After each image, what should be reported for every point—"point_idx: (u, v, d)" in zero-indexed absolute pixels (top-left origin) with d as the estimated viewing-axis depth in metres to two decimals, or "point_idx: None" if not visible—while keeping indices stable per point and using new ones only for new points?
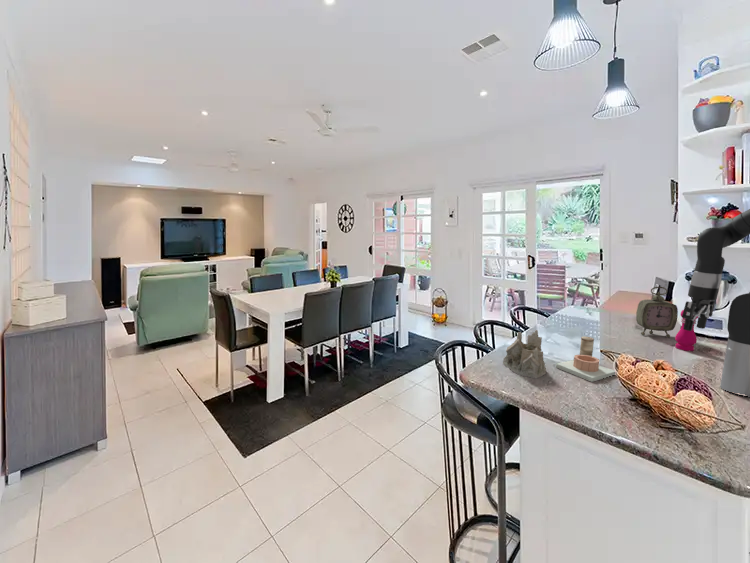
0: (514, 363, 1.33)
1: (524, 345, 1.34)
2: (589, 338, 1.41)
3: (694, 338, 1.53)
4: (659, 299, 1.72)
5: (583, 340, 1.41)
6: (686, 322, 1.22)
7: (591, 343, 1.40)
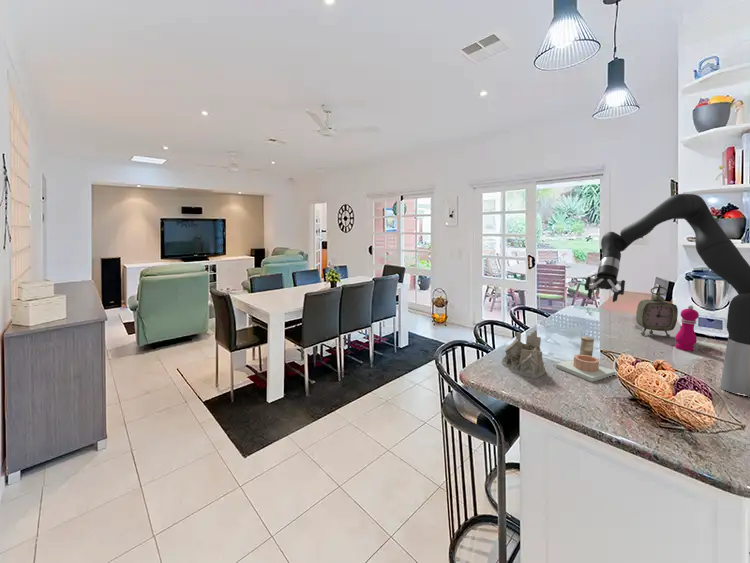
0: (513, 363, 1.33)
1: (523, 345, 1.34)
2: (589, 338, 1.41)
3: (694, 338, 1.53)
4: (659, 299, 1.72)
5: (583, 340, 1.41)
6: (588, 292, 1.52)
7: (591, 343, 1.40)
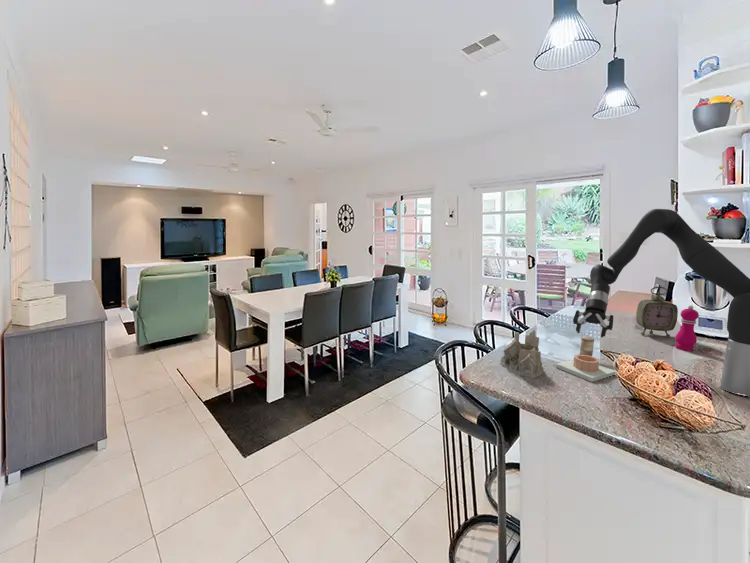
0: (511, 363, 1.33)
1: (521, 345, 1.34)
2: (589, 338, 1.41)
3: (694, 338, 1.53)
4: (659, 299, 1.72)
5: (583, 340, 1.41)
6: None
7: (591, 343, 1.39)
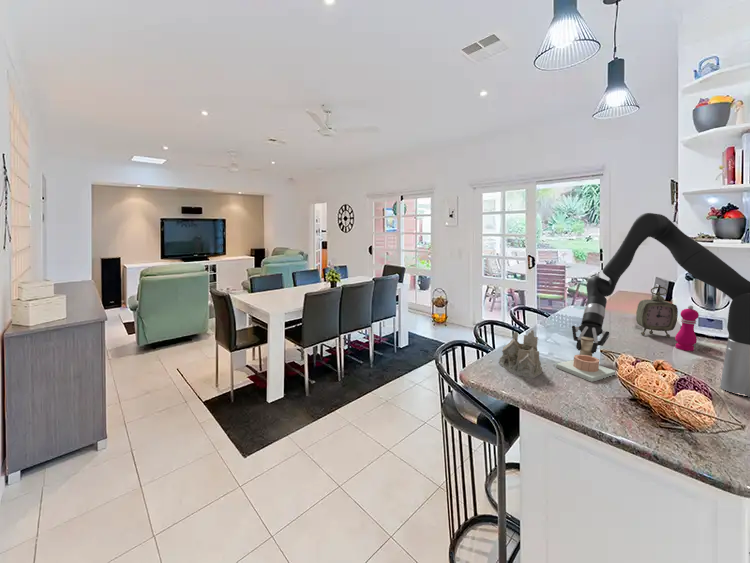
0: (510, 363, 1.33)
1: (520, 345, 1.34)
2: (589, 338, 1.41)
3: (694, 338, 1.53)
4: (659, 299, 1.72)
5: (583, 340, 1.41)
6: (577, 343, 1.44)
7: (591, 343, 1.39)
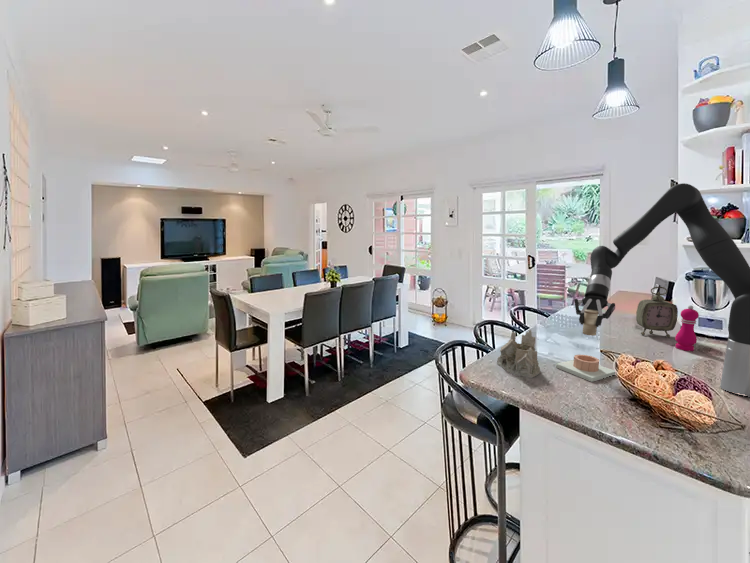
0: (508, 363, 1.33)
1: (518, 345, 1.34)
2: (593, 310, 1.29)
3: (694, 338, 1.53)
4: (659, 299, 1.72)
5: (586, 313, 1.29)
6: (580, 317, 1.33)
7: (595, 316, 1.28)
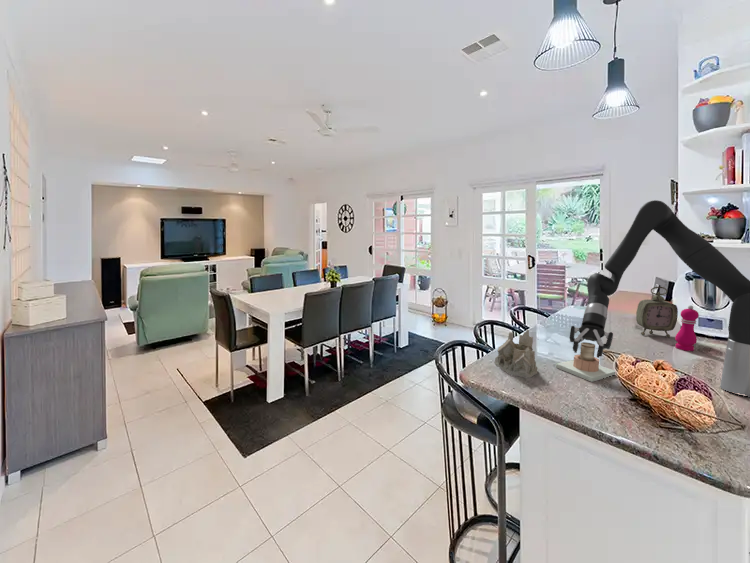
0: (506, 363, 1.33)
1: (515, 345, 1.34)
2: (590, 344, 1.29)
3: (694, 338, 1.53)
4: (659, 299, 1.72)
5: (583, 346, 1.28)
6: None
7: (592, 350, 1.27)
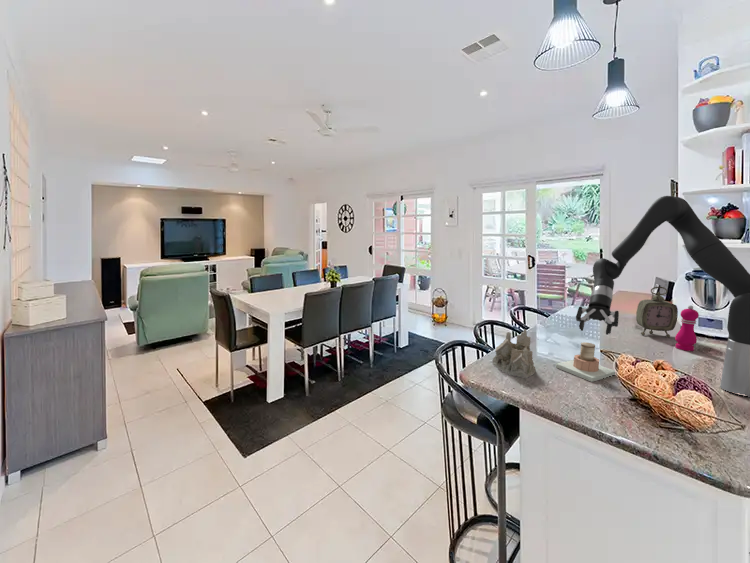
0: (504, 363, 1.33)
1: (513, 345, 1.34)
2: (590, 344, 1.29)
3: (694, 338, 1.53)
4: (659, 299, 1.72)
5: (583, 346, 1.28)
6: (580, 323, 1.41)
7: (592, 350, 1.27)
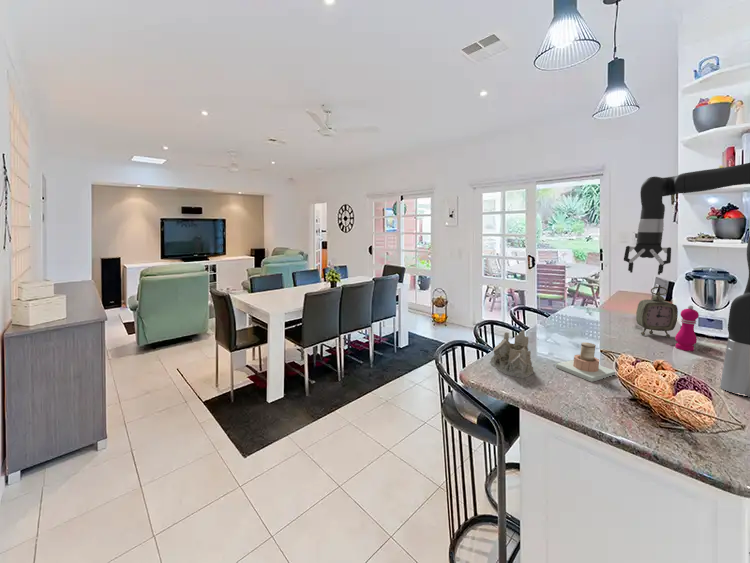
0: (502, 363, 1.33)
1: (511, 345, 1.34)
2: (590, 344, 1.29)
3: (694, 338, 1.53)
4: (659, 299, 1.72)
5: (583, 346, 1.28)
6: None
7: (592, 350, 1.27)
